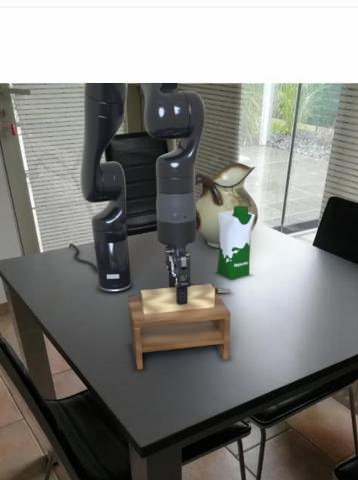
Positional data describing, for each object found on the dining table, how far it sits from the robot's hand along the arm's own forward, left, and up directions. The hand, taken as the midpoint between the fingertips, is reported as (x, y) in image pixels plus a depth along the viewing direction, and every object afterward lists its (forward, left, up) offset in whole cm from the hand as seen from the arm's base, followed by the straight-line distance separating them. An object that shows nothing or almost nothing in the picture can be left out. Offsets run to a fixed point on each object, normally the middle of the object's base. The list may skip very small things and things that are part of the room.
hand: (178, 295), depth 100 cm
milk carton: (-43, +25, -14) cm, 52 cm away
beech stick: (0, 0, -3) cm, 3 cm away
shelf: (0, 0, -14) cm, 14 cm away
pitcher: (-72, +30, -14) cm, 80 cm away
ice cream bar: (-31, +13, -14) cm, 37 cm away
